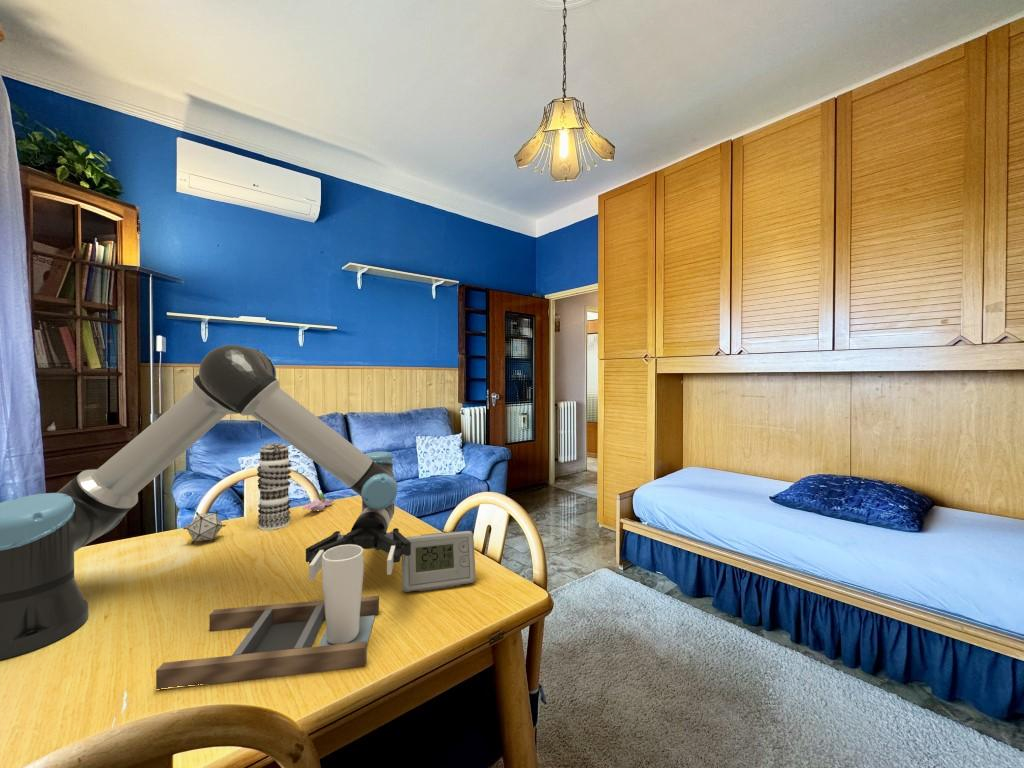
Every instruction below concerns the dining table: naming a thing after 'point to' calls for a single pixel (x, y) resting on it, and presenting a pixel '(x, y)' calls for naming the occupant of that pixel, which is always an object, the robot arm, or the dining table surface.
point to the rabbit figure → (318, 503)
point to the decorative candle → (274, 486)
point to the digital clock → (439, 561)
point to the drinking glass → (342, 591)
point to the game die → (204, 527)
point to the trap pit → (281, 634)
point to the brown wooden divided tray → (272, 661)
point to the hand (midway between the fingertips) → (350, 570)
